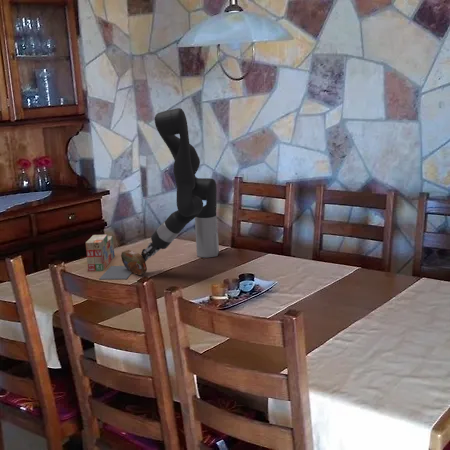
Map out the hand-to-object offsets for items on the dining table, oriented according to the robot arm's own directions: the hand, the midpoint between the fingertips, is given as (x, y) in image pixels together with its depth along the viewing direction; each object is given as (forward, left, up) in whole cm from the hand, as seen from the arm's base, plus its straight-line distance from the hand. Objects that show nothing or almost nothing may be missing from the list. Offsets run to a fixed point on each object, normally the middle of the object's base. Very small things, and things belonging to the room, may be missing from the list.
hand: (140, 262), depth 250 cm
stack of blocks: (+20, -14, -5) cm, 25 cm away
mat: (+9, 0, -4) cm, 10 cm away
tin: (+2, 0, -4) cm, 4 cm away
